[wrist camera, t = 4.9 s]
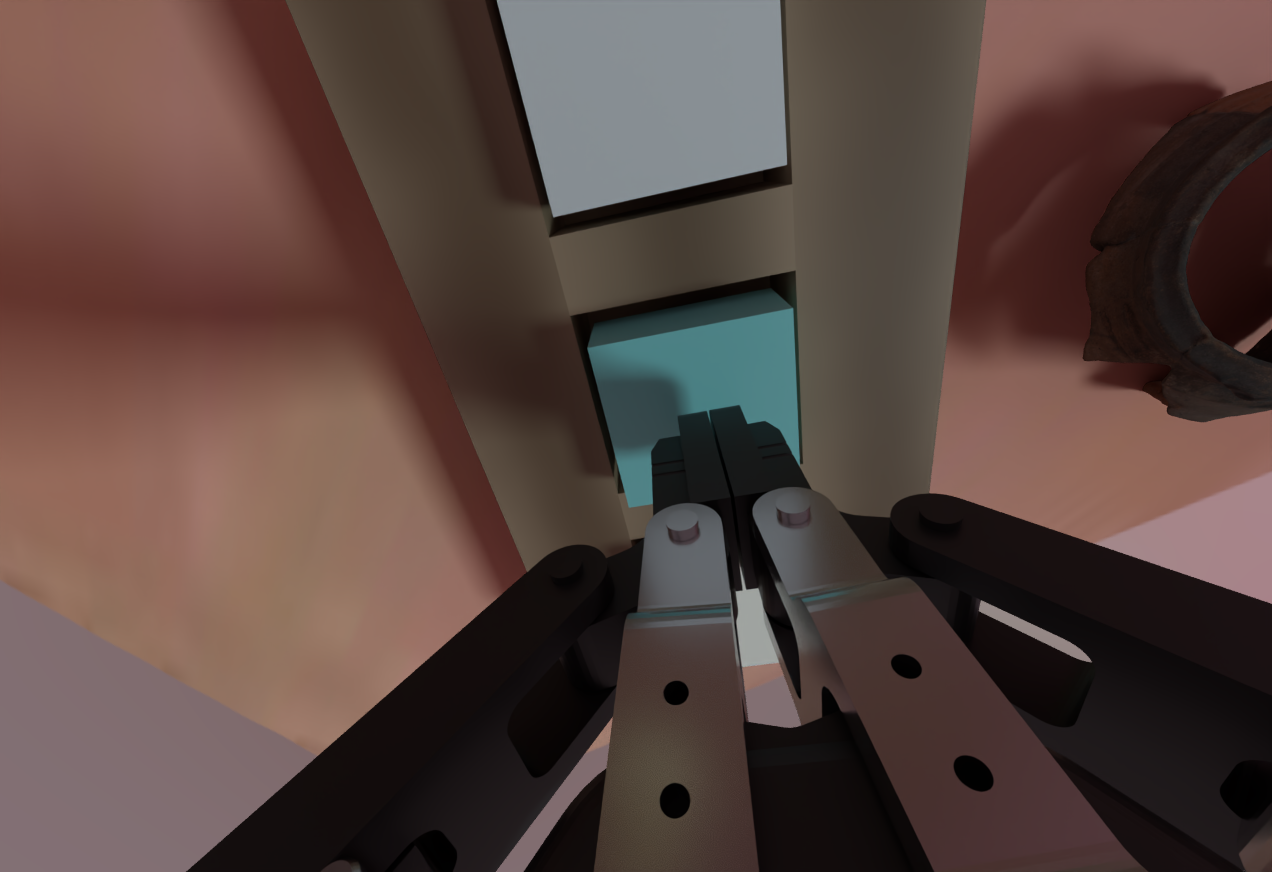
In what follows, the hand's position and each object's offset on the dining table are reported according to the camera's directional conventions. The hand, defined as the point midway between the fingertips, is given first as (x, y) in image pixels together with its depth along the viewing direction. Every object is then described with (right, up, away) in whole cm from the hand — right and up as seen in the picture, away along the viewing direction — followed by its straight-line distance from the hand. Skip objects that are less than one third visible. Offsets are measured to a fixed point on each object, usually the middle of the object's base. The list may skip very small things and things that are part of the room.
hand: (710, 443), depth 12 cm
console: (0, +3, +6) cm, 7 cm away
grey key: (-2, +9, -1) cm, 9 cm away
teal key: (0, +2, +3) cm, 3 cm away
